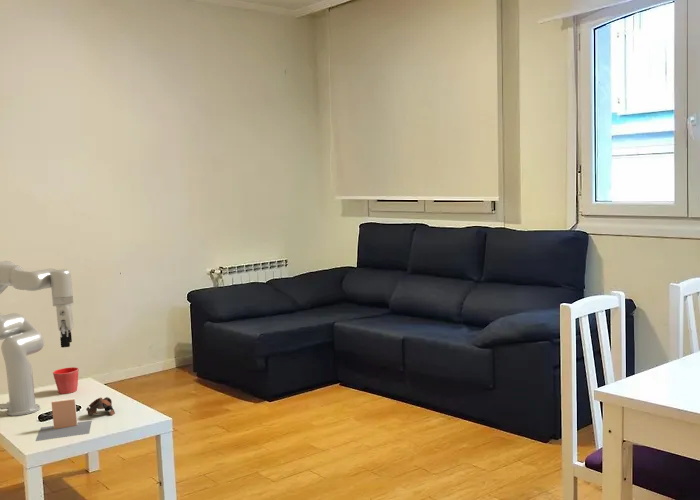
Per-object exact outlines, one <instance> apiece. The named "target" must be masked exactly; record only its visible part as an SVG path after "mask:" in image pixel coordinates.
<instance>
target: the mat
mask: <svg viewBox="0 0 700 500" xmlns="http://www.w3.org/2000/svg"><path fill="white" fill-rule="evenodd" d="M91 426H92V420H87V421H81V422H80V421H79V422H78V421H77V426H72V427H64V428H57V429H54V425H50V426H42V427H40V429H39V431H38V434H37V436H36V438H35V442H39V441H46V440H53V439H60V438H66V437H68V438H69V437H74V436H83V435H88V434H90V431H91Z"/></svg>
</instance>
